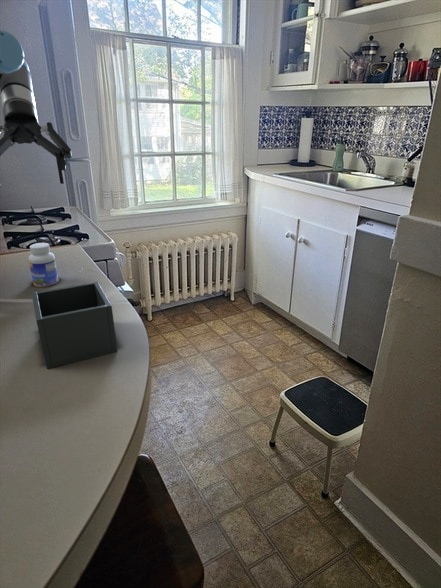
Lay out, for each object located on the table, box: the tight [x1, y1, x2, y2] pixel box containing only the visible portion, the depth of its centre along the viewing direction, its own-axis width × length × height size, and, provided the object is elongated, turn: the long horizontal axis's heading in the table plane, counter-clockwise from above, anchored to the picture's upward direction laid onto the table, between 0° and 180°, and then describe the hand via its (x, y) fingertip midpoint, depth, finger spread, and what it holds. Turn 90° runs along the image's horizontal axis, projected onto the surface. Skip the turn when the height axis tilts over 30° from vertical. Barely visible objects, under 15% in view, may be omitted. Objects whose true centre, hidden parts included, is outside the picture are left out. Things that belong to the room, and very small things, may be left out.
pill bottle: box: [28, 242, 59, 288], centre depth 88 cm, size 5×5×10 cm
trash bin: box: [31, 281, 118, 370], centre depth 66 cm, size 11×11×9 cm
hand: (30, 182), depth 91 cm, fingers open, 13 cm apart
